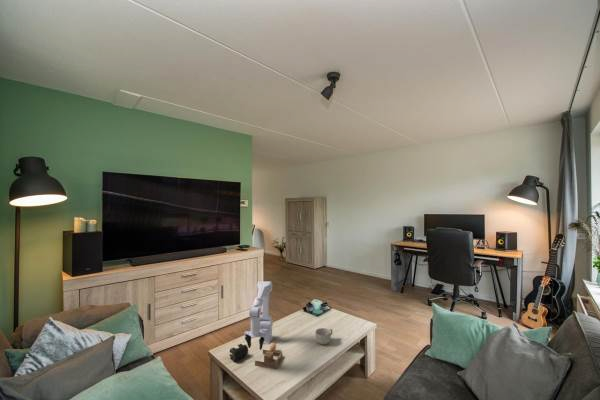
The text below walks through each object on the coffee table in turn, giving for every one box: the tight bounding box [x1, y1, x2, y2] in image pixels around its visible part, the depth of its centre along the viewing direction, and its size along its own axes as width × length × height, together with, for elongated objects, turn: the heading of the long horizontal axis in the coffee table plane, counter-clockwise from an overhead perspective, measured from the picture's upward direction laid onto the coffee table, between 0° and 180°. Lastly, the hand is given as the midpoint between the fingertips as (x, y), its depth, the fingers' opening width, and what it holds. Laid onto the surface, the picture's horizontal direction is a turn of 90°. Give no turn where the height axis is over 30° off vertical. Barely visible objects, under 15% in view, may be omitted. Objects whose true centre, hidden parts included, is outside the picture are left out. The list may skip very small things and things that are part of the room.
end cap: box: [229, 343, 249, 362], centre depth 165 cm, size 10×7×7 cm
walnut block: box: [263, 352, 274, 363], centre depth 162 cm, size 4×4×4 cm
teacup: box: [315, 327, 334, 346], centre depth 184 cm, size 14×11×8 cm
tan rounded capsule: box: [269, 342, 277, 352], centre depth 172 cm, size 4×4×5 cm
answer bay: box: [254, 349, 283, 370], centre depth 162 cm, size 13×14×2 cm
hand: (255, 348), depth 159 cm, fingers open, 7 cm apart
